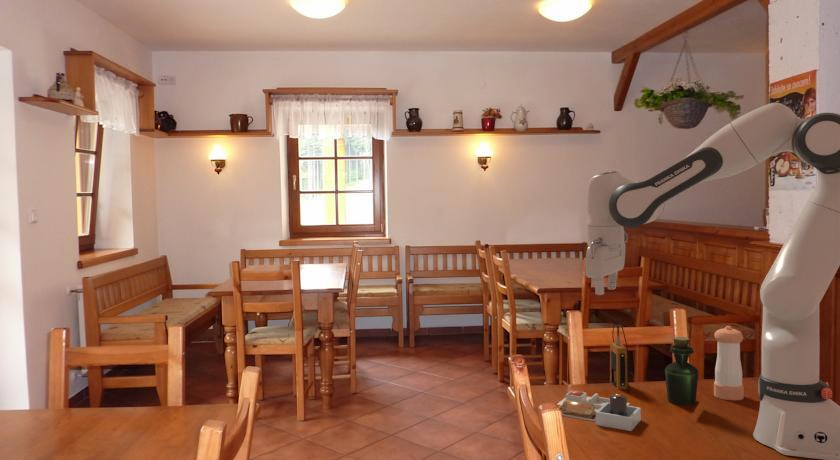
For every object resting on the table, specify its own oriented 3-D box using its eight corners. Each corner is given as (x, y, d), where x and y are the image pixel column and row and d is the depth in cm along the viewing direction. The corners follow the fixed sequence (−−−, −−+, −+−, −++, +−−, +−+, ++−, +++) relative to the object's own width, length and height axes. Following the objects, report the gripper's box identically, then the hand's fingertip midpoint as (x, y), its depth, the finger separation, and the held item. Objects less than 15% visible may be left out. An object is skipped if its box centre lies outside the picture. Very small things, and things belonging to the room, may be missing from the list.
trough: (603, 419, 157) (603, 412, 157) (595, 427, 152) (595, 420, 152) (560, 411, 163) (560, 405, 163) (551, 419, 158) (550, 412, 158)
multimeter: (658, 398, 172) (658, 325, 171) (621, 399, 172) (620, 326, 171) (640, 382, 187) (640, 315, 186) (606, 383, 187) (605, 315, 186)
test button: (583, 398, 167) (583, 391, 167) (579, 401, 165) (579, 394, 165) (573, 396, 169) (572, 389, 169) (569, 399, 166) (569, 392, 166)
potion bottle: (669, 400, 170) (669, 333, 169) (701, 405, 166) (701, 337, 165) (661, 408, 164) (660, 339, 163) (694, 414, 159) (694, 343, 158)
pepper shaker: (708, 393, 175) (708, 324, 174) (733, 391, 176) (733, 323, 175) (723, 401, 168) (723, 329, 167) (749, 399, 169) (749, 328, 168)
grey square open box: (640, 426, 152) (640, 407, 152) (631, 437, 145) (631, 418, 145) (606, 420, 157) (606, 402, 156) (595, 430, 150) (595, 412, 150)
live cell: (594, 417, 157) (594, 402, 157) (589, 422, 154) (589, 406, 154) (565, 412, 161) (565, 397, 161) (559, 416, 158) (559, 401, 158)
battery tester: (629, 408, 164) (629, 395, 164) (618, 420, 156) (618, 406, 156) (570, 399, 173) (570, 386, 173) (556, 410, 165) (556, 396, 165)
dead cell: (628, 424, 151) (628, 393, 151) (624, 429, 148) (623, 397, 148) (612, 422, 154) (612, 391, 153) (608, 427, 150) (607, 395, 150)
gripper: (604, 240, 149) (605, 298, 149) (629, 234, 166) (629, 287, 166) (578, 239, 152) (579, 297, 153) (605, 234, 169) (605, 285, 170)
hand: (605, 291), depth 160 cm, fingers open, 8 cm apart
